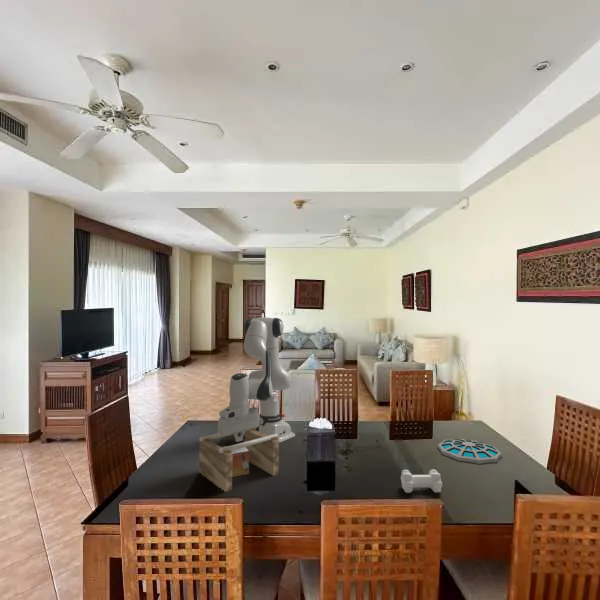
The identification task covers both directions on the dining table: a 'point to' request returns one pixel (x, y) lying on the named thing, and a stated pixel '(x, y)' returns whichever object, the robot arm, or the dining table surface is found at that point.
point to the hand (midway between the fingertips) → (239, 440)
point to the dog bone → (421, 481)
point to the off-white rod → (247, 443)
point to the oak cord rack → (220, 464)
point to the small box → (240, 462)
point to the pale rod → (214, 436)
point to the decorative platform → (469, 451)
